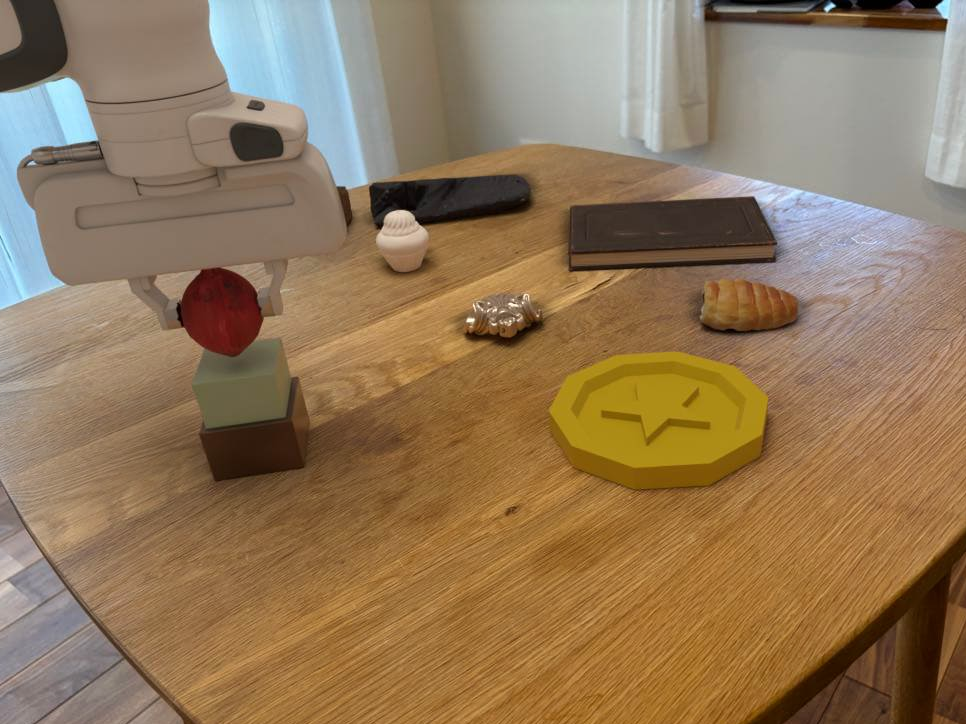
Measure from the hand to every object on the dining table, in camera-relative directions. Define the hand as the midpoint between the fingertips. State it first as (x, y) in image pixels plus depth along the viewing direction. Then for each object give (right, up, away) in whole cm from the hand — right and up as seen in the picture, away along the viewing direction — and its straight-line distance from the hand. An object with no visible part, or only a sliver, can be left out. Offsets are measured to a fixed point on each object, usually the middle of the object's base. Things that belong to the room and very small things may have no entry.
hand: (225, 319), depth 64 cm
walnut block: (+1, -10, +6) cm, 12 cm away
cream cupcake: (+8, +10, +37) cm, 39 cm away
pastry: (+43, +2, +20) cm, 48 cm away
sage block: (+1, -6, +4) cm, 7 cm away
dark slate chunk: (+11, +21, +55) cm, 60 cm away
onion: (0, -3, +2) cm, 3 cm away
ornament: (+20, +1, +21) cm, 29 cm away
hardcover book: (+39, +13, +39) cm, 56 cm away
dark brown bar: (-4, +16, +49) cm, 51 cm away
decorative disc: (+33, -8, +6) cm, 35 cm away
